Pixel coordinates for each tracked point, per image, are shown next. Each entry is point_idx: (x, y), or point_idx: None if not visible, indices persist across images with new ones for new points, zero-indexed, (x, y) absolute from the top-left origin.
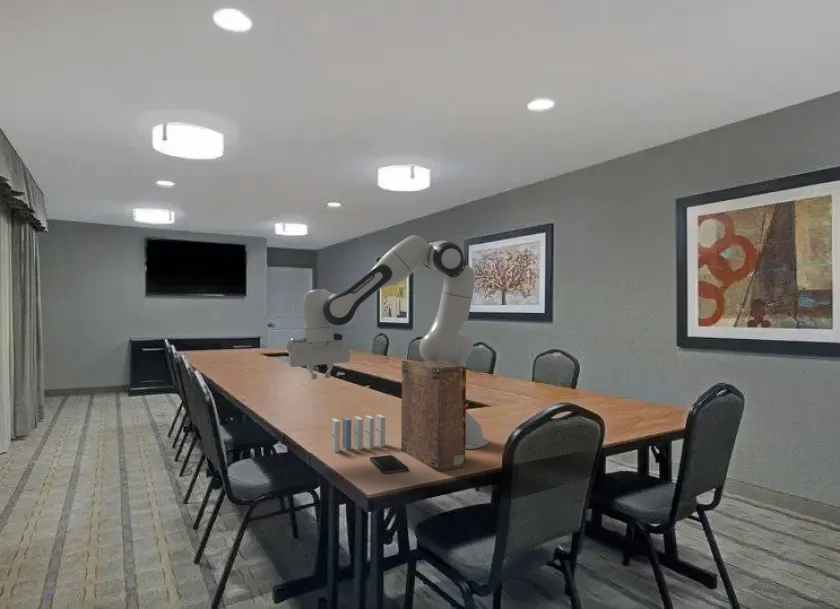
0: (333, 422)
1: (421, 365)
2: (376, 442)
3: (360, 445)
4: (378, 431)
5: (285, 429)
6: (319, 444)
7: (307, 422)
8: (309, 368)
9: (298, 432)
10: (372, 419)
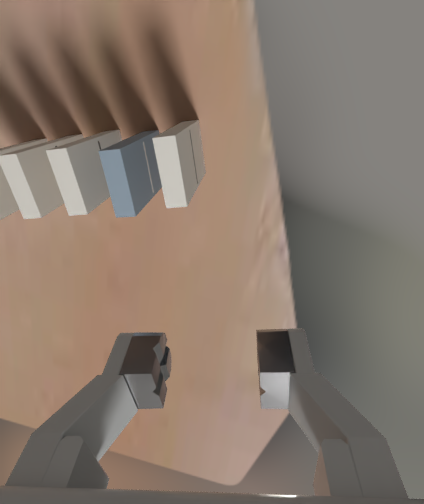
0: (182, 163)
1: None
2: None
3: (106, 132)
4: None
5: None
6: (233, 230)
7: (228, 428)
8: (378, 451)
9: None
10: (7, 154)
